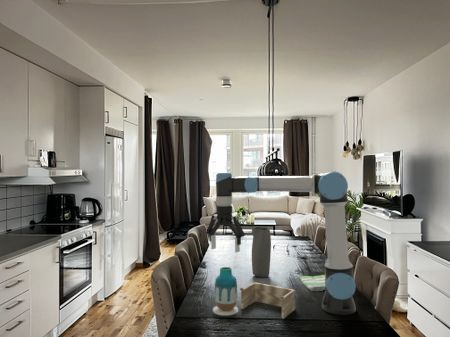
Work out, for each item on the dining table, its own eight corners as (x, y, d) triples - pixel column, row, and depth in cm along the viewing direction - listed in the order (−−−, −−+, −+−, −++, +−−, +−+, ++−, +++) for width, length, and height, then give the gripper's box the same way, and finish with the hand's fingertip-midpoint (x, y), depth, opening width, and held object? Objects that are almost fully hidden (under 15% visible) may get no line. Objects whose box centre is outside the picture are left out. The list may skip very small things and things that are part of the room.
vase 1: (215, 304, 169) (215, 265, 169) (237, 305, 168) (237, 265, 169) (214, 313, 158) (213, 271, 158) (237, 313, 158) (237, 271, 158)
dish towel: (310, 292, 188) (310, 285, 188) (298, 279, 211) (297, 273, 211) (341, 291, 190) (340, 284, 190) (325, 278, 213) (325, 272, 213)
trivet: (243, 308, 165) (243, 307, 165) (229, 317, 155) (229, 316, 155) (222, 303, 171) (222, 302, 171) (207, 312, 162) (207, 310, 162)
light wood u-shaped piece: (295, 309, 164) (295, 288, 164) (283, 319, 152) (282, 296, 153) (254, 300, 176) (254, 280, 176) (240, 308, 165) (240, 288, 165)
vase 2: (257, 272, 226) (257, 226, 227) (274, 275, 219) (273, 227, 220) (247, 276, 216) (247, 228, 217) (265, 280, 209) (264, 230, 210)
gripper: (251, 205, 160) (252, 251, 160) (208, 203, 174) (208, 246, 174) (242, 206, 154) (243, 254, 154) (198, 205, 168) (199, 249, 168)
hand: (225, 250), depth 164 cm, fingers open, 13 cm apart
